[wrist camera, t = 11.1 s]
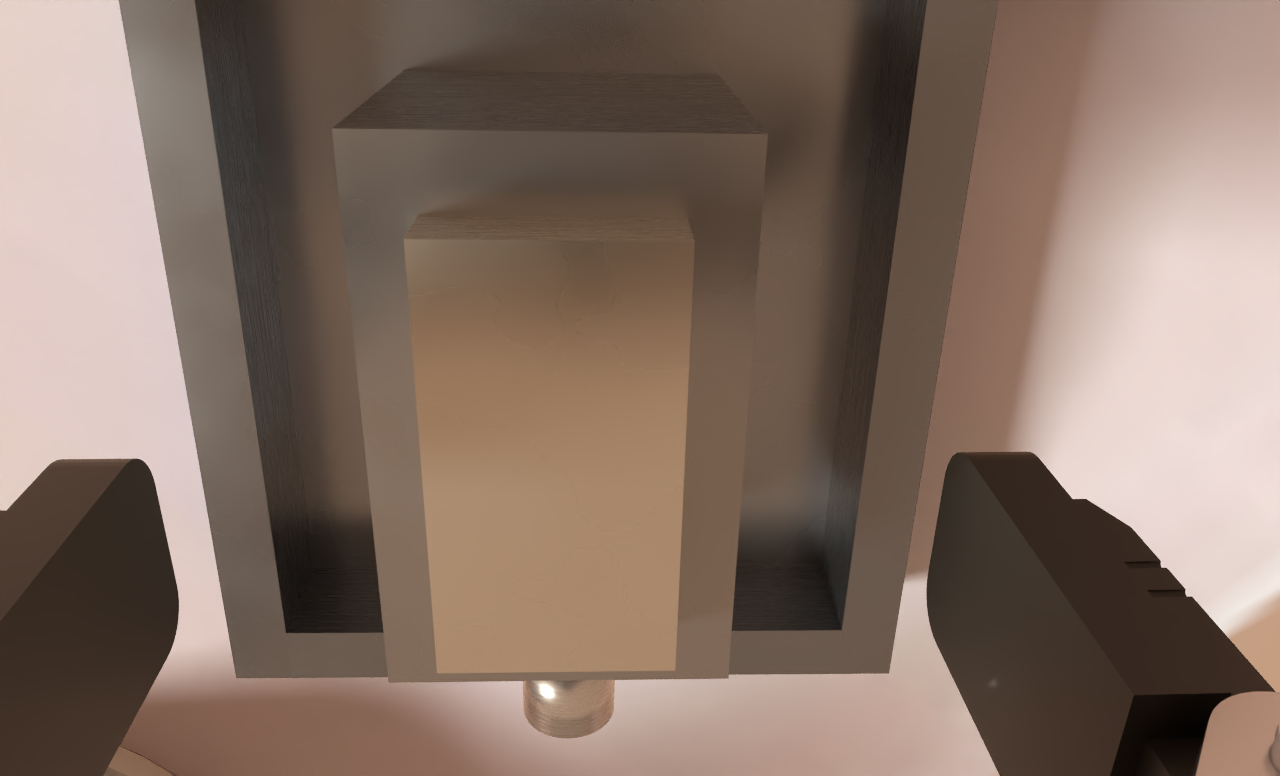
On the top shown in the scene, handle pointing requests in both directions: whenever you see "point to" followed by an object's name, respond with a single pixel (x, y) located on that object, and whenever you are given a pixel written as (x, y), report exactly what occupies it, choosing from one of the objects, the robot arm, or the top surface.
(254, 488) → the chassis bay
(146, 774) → the engine component
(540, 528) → the stepped two-tone block
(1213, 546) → the top surface
